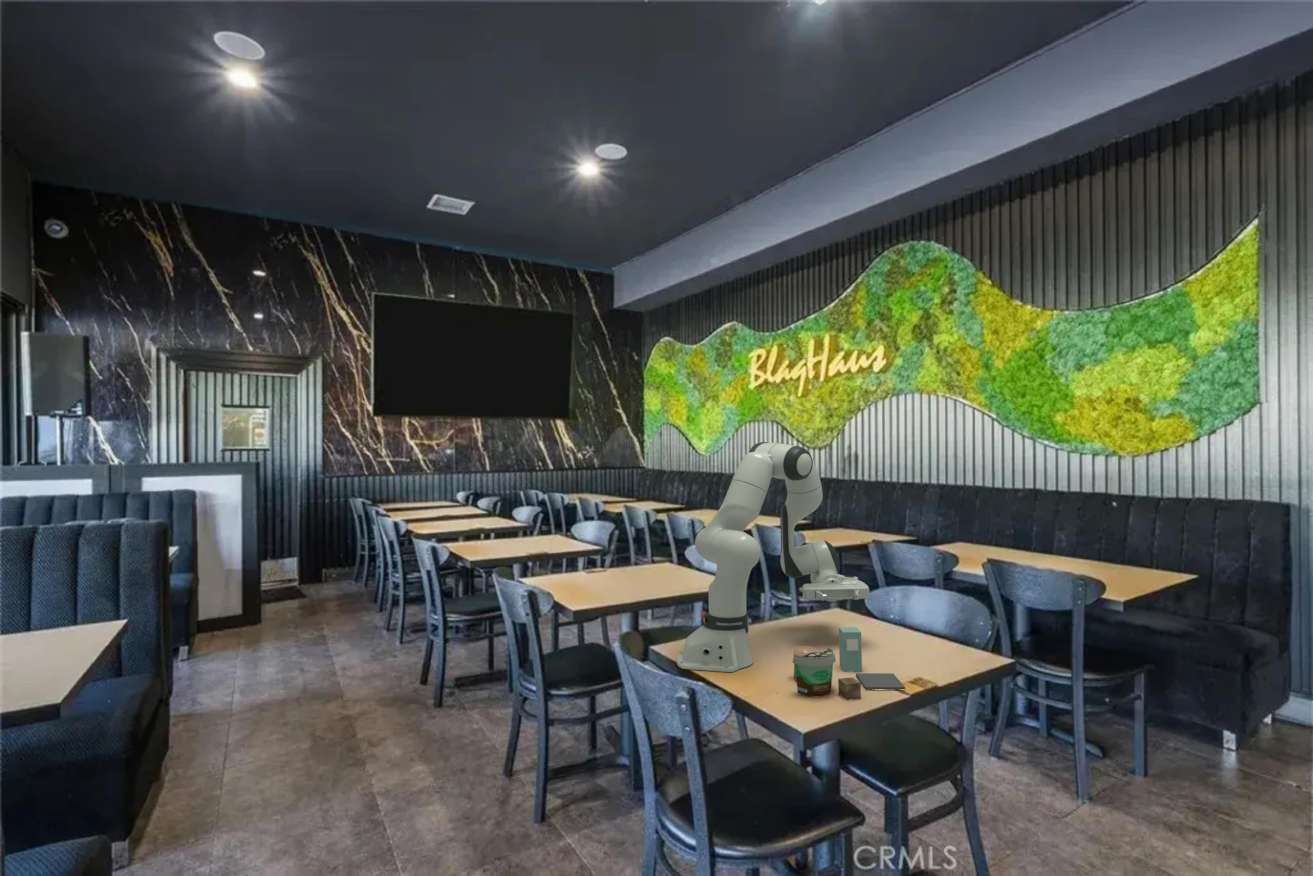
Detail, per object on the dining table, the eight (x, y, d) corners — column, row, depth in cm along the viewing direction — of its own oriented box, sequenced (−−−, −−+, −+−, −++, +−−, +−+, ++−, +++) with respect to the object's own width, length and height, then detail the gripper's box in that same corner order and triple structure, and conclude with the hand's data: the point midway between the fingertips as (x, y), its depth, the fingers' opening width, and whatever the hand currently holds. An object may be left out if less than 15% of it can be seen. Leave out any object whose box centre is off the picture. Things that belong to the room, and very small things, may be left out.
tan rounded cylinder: (795, 683, 173) (795, 653, 173) (792, 675, 179) (791, 646, 179) (818, 683, 172) (818, 653, 172) (814, 675, 178) (813, 645, 178)
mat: (865, 690, 167) (865, 687, 167) (856, 676, 177) (855, 673, 177) (905, 690, 166) (905, 687, 166) (893, 676, 176) (893, 673, 176)
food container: (809, 702, 160) (808, 661, 160) (793, 693, 165) (792, 654, 165) (846, 692, 165) (845, 653, 166) (829, 684, 171) (829, 646, 171)
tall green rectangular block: (843, 672, 180) (843, 632, 180) (839, 665, 185) (838, 627, 185) (862, 672, 180) (861, 632, 180) (857, 665, 185) (856, 627, 185)
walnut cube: (846, 700, 161) (845, 684, 161) (838, 694, 164) (838, 678, 165) (861, 699, 161) (860, 682, 161) (853, 693, 165) (852, 677, 165)
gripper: (797, 577, 209) (805, 587, 196) (862, 576, 208) (873, 586, 194) (798, 597, 209) (805, 608, 196) (862, 596, 208) (874, 607, 194)
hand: (840, 597), depth 195 cm, fingers open, 8 cm apart
